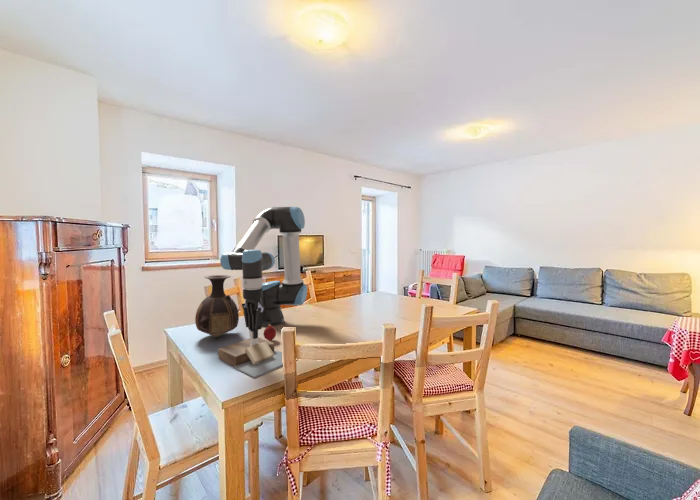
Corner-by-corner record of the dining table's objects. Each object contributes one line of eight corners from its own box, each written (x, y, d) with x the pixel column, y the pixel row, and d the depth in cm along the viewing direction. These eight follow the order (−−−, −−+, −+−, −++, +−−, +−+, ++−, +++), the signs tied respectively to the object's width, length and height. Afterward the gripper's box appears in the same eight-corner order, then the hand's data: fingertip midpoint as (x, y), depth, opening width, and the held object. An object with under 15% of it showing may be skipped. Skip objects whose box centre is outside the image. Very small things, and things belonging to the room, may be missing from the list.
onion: (278, 340, 145) (278, 324, 144) (268, 344, 141) (267, 327, 140) (271, 338, 149) (271, 321, 148) (261, 341, 144) (260, 324, 144)
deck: (256, 345, 140) (256, 336, 139) (274, 352, 131) (274, 343, 131) (218, 358, 126) (218, 348, 125) (235, 366, 117) (235, 356, 117)
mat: (277, 351, 132) (277, 350, 132) (297, 359, 124) (297, 358, 124) (234, 368, 116) (234, 366, 116) (254, 378, 108) (254, 376, 108)
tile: (263, 344, 128) (265, 341, 127) (272, 357, 125) (274, 354, 124) (244, 351, 121) (246, 347, 120) (253, 364, 118) (255, 361, 117)
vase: (206, 348, 136) (203, 281, 134) (185, 339, 148) (183, 277, 146) (250, 334, 154) (249, 275, 152) (229, 327, 166) (227, 271, 164)
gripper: (235, 287, 124) (236, 344, 126) (253, 291, 116) (255, 352, 118) (251, 285, 130) (252, 339, 132) (270, 288, 122) (271, 346, 123)
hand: (254, 345), depth 125 cm, fingers closed
